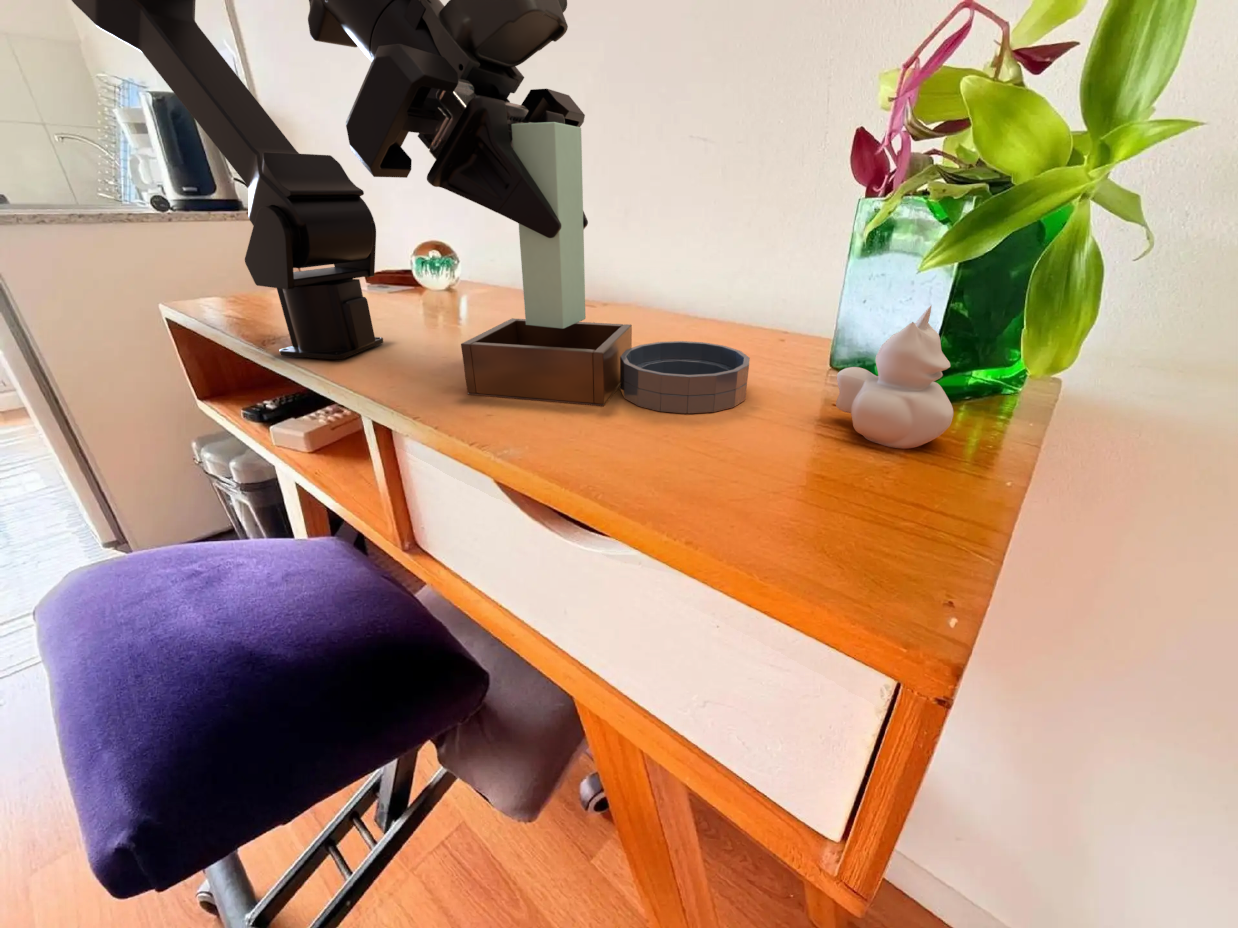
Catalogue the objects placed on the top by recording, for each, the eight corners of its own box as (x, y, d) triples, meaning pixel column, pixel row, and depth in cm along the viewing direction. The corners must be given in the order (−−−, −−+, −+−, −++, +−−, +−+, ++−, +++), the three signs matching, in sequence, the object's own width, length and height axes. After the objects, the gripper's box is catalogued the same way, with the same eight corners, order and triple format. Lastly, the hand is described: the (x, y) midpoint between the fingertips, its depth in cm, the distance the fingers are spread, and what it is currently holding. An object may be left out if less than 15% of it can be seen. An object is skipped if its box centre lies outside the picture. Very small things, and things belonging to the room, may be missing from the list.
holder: (468, 401, 39) (460, 343, 37) (515, 367, 46) (511, 318, 44) (604, 413, 37) (603, 352, 35) (631, 375, 44) (631, 324, 42)
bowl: (607, 414, 36) (606, 370, 35) (635, 375, 44) (636, 338, 43) (742, 426, 34) (747, 380, 33) (747, 383, 42) (751, 344, 41)
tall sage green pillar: (525, 325, 38) (510, 123, 33) (550, 315, 41) (540, 129, 36) (563, 329, 37) (554, 122, 32) (585, 319, 40) (581, 127, 35)
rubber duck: (919, 473, 29) (962, 319, 25) (806, 435, 33) (829, 300, 29) (957, 444, 32) (1000, 304, 28) (850, 413, 36) (875, 289, 33)
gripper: (335, -201, 22) (583, 106, 24) (555, -43, 38) (698, 138, 39) (258, 51, 29) (457, 284, 30) (473, 99, 44) (599, 251, 45)
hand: (570, 231), depth 36 cm, fingers closed on tall sage green pillar, 3 cm apart
